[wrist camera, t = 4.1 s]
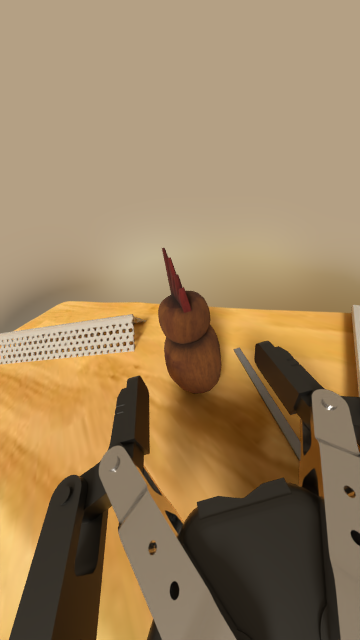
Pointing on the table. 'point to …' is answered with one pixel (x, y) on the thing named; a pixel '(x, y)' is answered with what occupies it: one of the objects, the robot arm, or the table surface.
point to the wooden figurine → (188, 337)
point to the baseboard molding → (357, 339)
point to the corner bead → (68, 328)
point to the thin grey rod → (271, 405)
